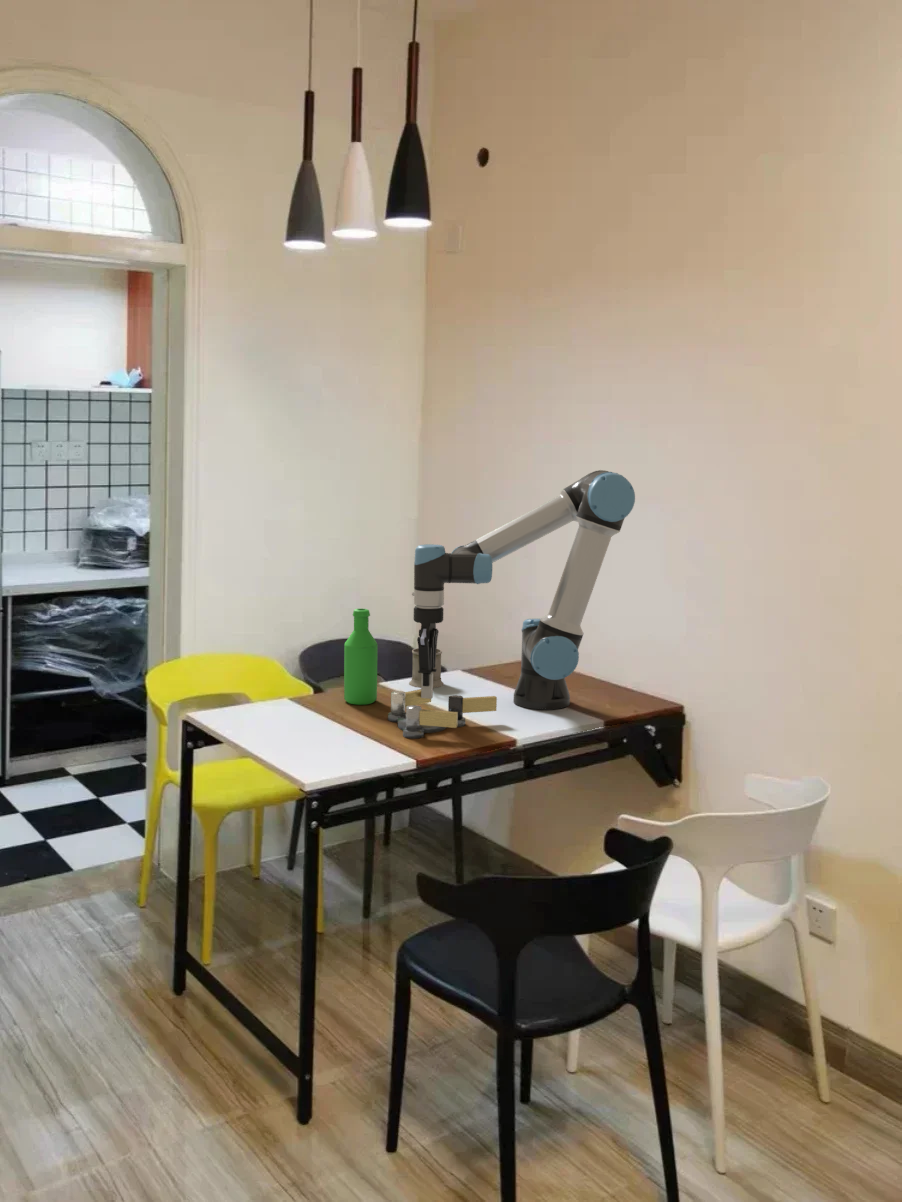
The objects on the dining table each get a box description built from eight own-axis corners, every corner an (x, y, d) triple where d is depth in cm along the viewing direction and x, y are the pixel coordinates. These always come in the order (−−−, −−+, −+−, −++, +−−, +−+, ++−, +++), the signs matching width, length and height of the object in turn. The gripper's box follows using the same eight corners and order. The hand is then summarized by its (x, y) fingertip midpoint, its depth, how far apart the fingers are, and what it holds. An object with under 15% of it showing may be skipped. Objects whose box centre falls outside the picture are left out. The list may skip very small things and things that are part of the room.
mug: (412, 679, 329) (413, 638, 327) (445, 680, 328) (446, 640, 326) (403, 690, 315) (404, 648, 313) (438, 692, 314) (439, 650, 312)
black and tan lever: (450, 720, 279) (451, 699, 279) (446, 717, 283) (446, 695, 282) (497, 717, 283) (498, 696, 282) (492, 714, 287) (493, 692, 286)
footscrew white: (397, 716, 282) (397, 695, 281) (387, 713, 285) (388, 692, 284) (433, 708, 291) (434, 687, 290) (424, 705, 293) (424, 685, 292)
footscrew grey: (404, 730, 270) (404, 708, 269) (408, 727, 273) (408, 704, 272) (455, 735, 267) (455, 712, 266) (458, 731, 270) (458, 708, 270)
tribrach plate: (467, 722, 284) (467, 713, 283) (451, 742, 267) (451, 732, 266) (391, 716, 288) (391, 707, 288) (370, 735, 271) (370, 725, 271)
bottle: (379, 698, 306) (380, 607, 302) (374, 706, 297) (375, 612, 293) (347, 696, 307) (347, 606, 303) (341, 704, 298) (341, 611, 294)
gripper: (420, 601, 291) (418, 691, 295) (407, 609, 279) (406, 702, 283) (448, 603, 290) (446, 693, 293) (437, 611, 277) (435, 704, 281)
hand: (426, 697), depth 288 cm, fingers closed
